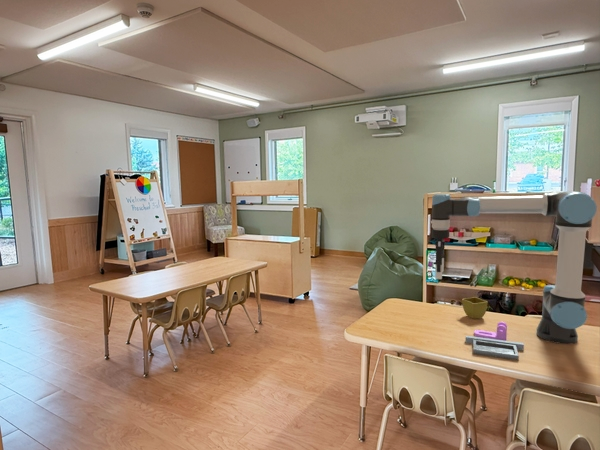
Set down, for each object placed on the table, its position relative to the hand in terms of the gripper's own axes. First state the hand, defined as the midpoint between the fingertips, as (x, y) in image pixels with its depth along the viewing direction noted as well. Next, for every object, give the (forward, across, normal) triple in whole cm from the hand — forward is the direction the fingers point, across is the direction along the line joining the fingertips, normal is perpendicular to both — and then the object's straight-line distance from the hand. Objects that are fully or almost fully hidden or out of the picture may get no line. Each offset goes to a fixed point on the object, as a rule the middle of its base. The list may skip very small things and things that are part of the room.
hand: (439, 275), depth 173 cm
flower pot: (+28, -27, +16) cm, 42 cm away
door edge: (+27, +6, +22) cm, 36 cm away
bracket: (+28, -4, +22) cm, 35 cm away
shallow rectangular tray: (+27, +12, +22) cm, 38 cm away
